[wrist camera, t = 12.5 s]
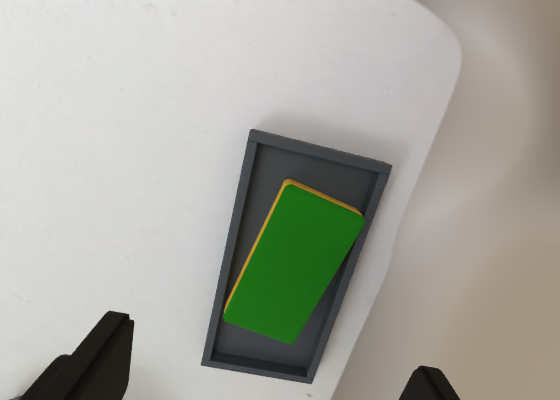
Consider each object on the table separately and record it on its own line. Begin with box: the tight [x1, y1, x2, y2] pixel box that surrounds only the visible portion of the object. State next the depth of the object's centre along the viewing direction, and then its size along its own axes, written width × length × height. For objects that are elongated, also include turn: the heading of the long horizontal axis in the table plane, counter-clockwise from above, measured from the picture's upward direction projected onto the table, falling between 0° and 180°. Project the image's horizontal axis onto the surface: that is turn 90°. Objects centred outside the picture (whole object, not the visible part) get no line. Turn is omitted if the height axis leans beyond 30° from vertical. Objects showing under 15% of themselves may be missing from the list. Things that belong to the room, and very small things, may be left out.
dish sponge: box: [223, 179, 365, 344], centre depth 24 cm, size 7×14×2 cm, turn 155°
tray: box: [201, 129, 392, 384], centre depth 25 cm, size 24×12×2 cm, turn 166°
